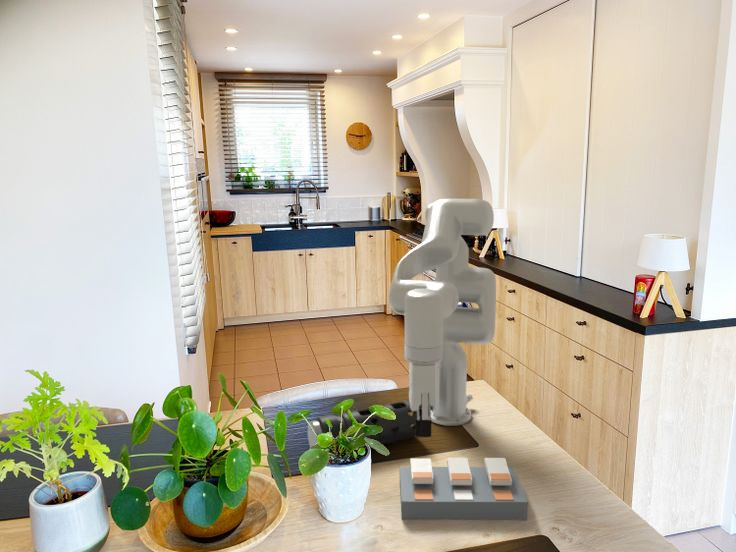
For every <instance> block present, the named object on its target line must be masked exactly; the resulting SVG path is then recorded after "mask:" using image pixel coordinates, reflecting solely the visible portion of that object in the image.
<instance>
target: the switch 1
mask: <svg viewBox="0 0 736 552" xmlns="http://www.w3.org/2000/svg"><path fill="white" fill-rule="evenodd" d="M409 464H410V467H411V477H412V484H433V472H432V467H433V466H432V459H431V458H410V461H409Z"/></svg>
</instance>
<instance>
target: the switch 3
mask: <svg viewBox="0 0 736 552" xmlns="http://www.w3.org/2000/svg"><path fill="white" fill-rule="evenodd" d="M483 460H484V461H483V462H484V467H486V471H487V477H488V480H489V483H490V485H512V479H511V476H510V472H509V469H508V467H509V466H508V463H507V460H506V457H484V459H483Z"/></svg>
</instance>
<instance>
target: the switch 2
mask: <svg viewBox="0 0 736 552" xmlns="http://www.w3.org/2000/svg"><path fill="white" fill-rule="evenodd" d="M446 464H447V465H446V467H448V472H449V478H450V485H472V477H471V472H470V467H471V466H470V463H469V459H468V457H447V458H446Z"/></svg>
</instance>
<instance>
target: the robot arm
mask: <svg viewBox="0 0 736 552" xmlns="http://www.w3.org/2000/svg"><path fill="white" fill-rule="evenodd" d="M424 216H425V225H424V231H423V235H422V239H421V243H420V244H418V245H416V246H415V247H414V248H412V249H411V250H410V251H408V252H407V253H406V254H405V255H404V256H403V257H401V259H400V260H399V261H398V262H397V264H396V266H395V269H394V272H393V276H392V278H391V279H392V280H391V283H390V287H389V295H388V301H389V302H388V303H389V306H390V309H391V311H393V312H394V313H395V314H397V315H404V360H405V361H407V362H408V364H409V365H408V370H409V371H408V399H409V402H410V409H411V411H413V412H414V411H416V415H417V416H415V424H414V425H415V433H416V436H415V437H417V438H430V437H432V423H435V424H437V425H441V426H448V427H451V426H453V427H455V426H462V425H465V424H466V423H469V422H470V421H471V419H472V412H471V410H470V409H469V408H468V407H467V406H468V403H469V402H471V401H473V399H474V397H473V395H472V394H467V374H468V372H467V371H468V368H467V367H468V366H467V365H468V356H467V354H466V351H465V350H464V348H463V346H462V345H461V344H462V343H463V344H474V345H475V344H476V345H478V344H479V345H486V344H487V345H488V344H490V343H491V342H492V341H493V339H494V337H495V332H496V313H497V311H496V310H497V280H496V275H495V272H493V271H492V270H491V269H489V268H486V267H477V266H476V267H475V266H474V267H472V266H470V265H469V256H470V255H469V254H470V253H469V251H470V250H469V246H468V244H467V242H466V241H465V239H464V238H463V237H462V236H487V235H489V234H490V233H491V231H492V228H493V225H494V221H495V220H494V219H495V218H494V217H495V215H494V210H493V206H492V205H491V203H490V202H488V201H487V200H484V199H483V198H482V199H480V198H441V199H437V200H435V201H434V202H432V203H430V204H428V205H427V206H426V208H425V212H424ZM432 270H435V280H428V279H427V280H426V279H413V278H415V277H417V276H418V275H421V274H423V273H425V272H429V271H432ZM459 303H468V304H469V303H470V304H475V305H477V306H478V307H464V306H459ZM413 412H412V413H413Z"/></svg>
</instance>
